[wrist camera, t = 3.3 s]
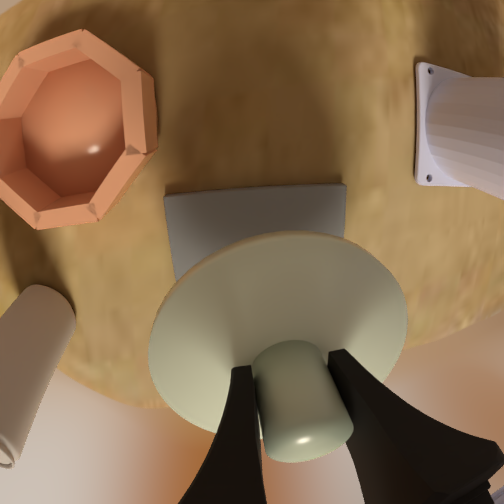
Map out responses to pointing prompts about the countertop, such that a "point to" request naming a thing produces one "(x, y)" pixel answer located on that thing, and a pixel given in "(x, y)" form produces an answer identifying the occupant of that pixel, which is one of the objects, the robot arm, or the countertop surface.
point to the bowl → (73, 130)
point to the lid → (277, 335)
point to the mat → (247, 217)
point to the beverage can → (29, 361)
